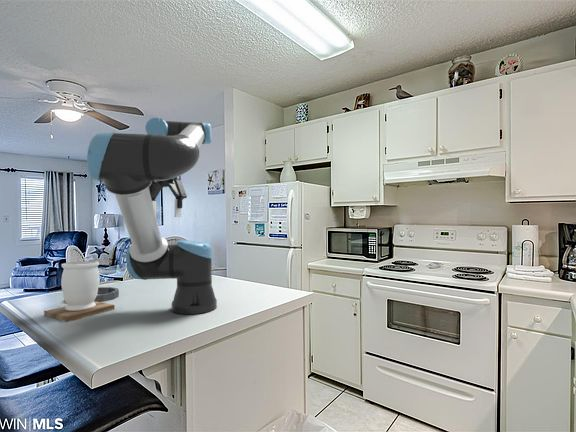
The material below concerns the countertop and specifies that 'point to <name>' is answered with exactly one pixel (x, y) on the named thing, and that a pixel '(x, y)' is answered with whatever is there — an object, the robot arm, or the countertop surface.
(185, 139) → the robot arm
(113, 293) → the collar
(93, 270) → the jar
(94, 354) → the countertop surface
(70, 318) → the board
